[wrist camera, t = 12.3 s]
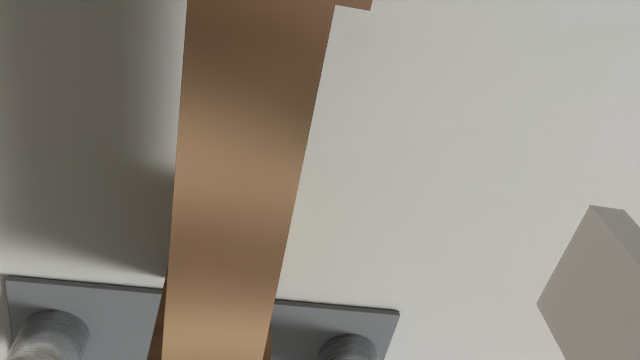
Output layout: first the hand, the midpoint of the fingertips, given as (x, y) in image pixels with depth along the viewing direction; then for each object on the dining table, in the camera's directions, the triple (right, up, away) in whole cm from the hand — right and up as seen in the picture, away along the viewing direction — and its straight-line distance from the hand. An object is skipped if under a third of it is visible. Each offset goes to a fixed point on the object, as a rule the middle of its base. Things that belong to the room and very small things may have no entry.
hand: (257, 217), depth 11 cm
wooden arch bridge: (-2, +3, +11) cm, 11 cm away
